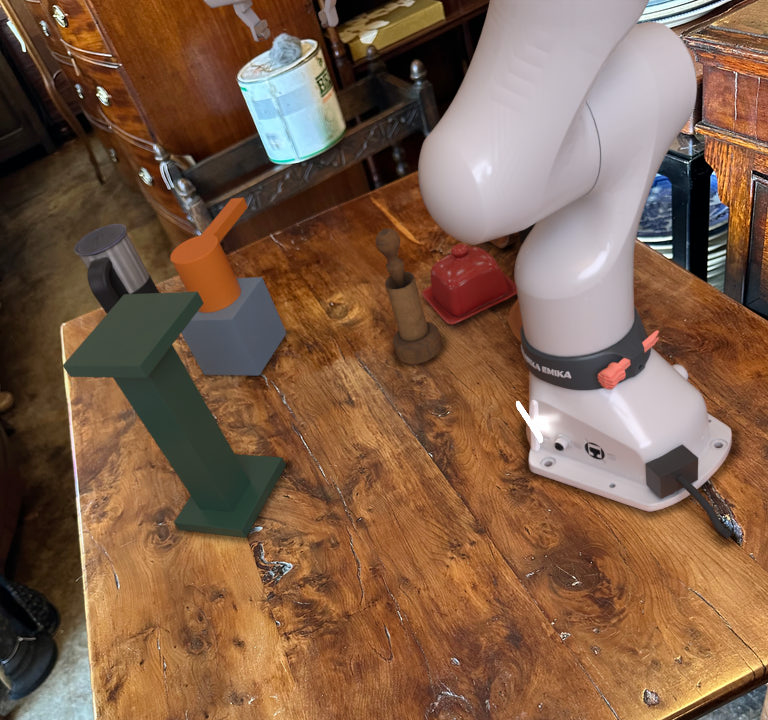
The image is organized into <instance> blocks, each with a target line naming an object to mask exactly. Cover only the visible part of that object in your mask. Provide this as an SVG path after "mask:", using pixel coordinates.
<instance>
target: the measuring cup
mask: <svg viewBox="0 0 768 720" xmlns="http://www.w3.org/2000/svg"><path fill="white" fill-rule="evenodd" d="M247 209H248V204H247V201H246V199H245V197H233V198H230V199H229V201H228V202H227V203H226V205H224V207H223V208H222V209H221V210H220V212H219V213H218V214H217V215H216V217H215V218H214V219H213V220H212V221H211V222H210V223H209V225H208V226H207V228H205V230H204V231H203V232H202V234H201V235H197V236H194V237H191V238H189V239H187V240H185V241H183V242H181V243H180V244H179V245H177V246H176V247H175V248H174V249H173V251H172V252H171V254H170V256H169V257H170V258H169V259H170V262H171V264H172V265H173V267H174V269H175V270H176V273H177V275H178V276H179V278H180V281H181V282H182V284H183V285H184V288H185V290H186V292H198V293H199V295H200V297H201V299H202V301H203V303H204V304H203V305H202V306H201V308H200V309H199V310H198V311H200V312H203V313H211V312H216V311H219V310H222V309H224V308H226V307H228V306H229V305H231V304H232V303H233V302H235V301H236V300H237V299H238V297H239V296H240V294H241V288H240V285H239V283H238V281H237V279H236V278H237V276H236V275H235V273H234V271H233V269H232V266H231V264H230V261H229V260H228V257H227V255H226V253H225V251H224V249H223V246H222V244H221V242H222V241H223V239H224V238H225V237H226V235H227V234H228V233H229V232H230V230H231V229H232V228H233V226H235V224H236V223H237V222H238V220H239V219H240V218H241V217H242V216H243V214H244V213H245V212H246V210H247Z"/></svg>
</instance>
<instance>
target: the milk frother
mask: <svg viewBox="0 0 768 720" xmlns="http://www.w3.org/2000/svg"><path fill="white" fill-rule="evenodd" d="M73 252H74V254H76V255H78V256H79V258H80V259H81V261H82V263H83V264H84V266H85V268H86V270H87V273H86V275H87V282H88V285H89V288H90V290H91V293H92V294H93V296H94V297H95V300H97V302H98V303H99V304H100V306H101V308H102V309H103V310H104V313H105V314H106V315H107V314H108V312H109V311H110V310H111V309H112V308H113V307H114V305H115V304H116V303H117V302H118V301H119V300H120V299H121V297H122V296H123V295H124V294H148V293H161V292H160V290H159V288H158V287H157V285H156V284H155V282H154V279H153V278H152V276H151V275H150V273H149V271H148V269H147V267H146V266H145V263H144V262H143V260H142V258H141V256H140V254H139V253H138V251H137V249H136V247H135V245H134V243H133V242H132V240H131V238H130V236H129V235H128V232H127V227H126V226H125V224H122V223H113V224H108V225H105V226H101V227H99V228H96V229H95V230H93V231H90V232H89V233H87V234H86V235H84V236H83V237H82V238H80V240H78V241H77V243H76V244H75V245H74V248H73Z"/></svg>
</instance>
